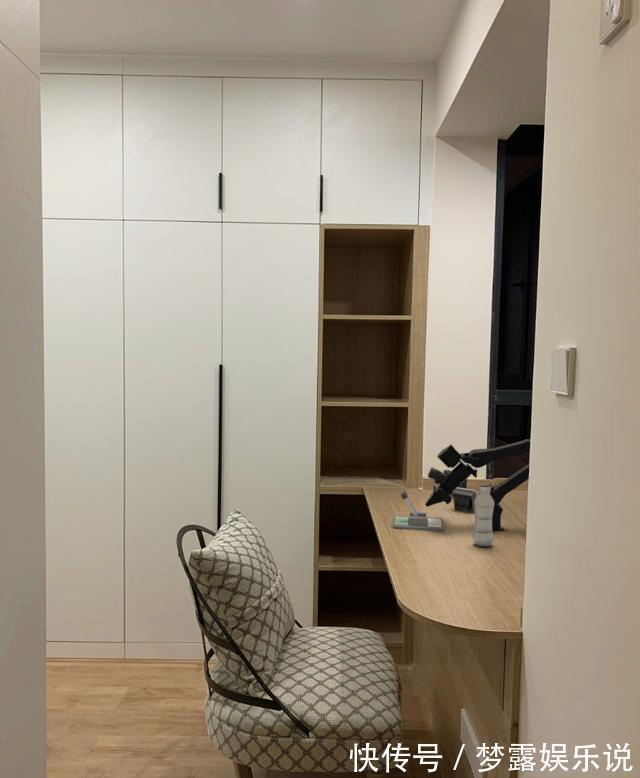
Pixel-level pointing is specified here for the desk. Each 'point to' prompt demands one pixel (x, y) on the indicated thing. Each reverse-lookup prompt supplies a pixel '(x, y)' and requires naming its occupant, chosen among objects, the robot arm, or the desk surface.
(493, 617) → the desk surface
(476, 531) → the plastic bottle
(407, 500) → the lever
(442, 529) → the switch plate
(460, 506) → the electrical switch
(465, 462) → the robot arm
